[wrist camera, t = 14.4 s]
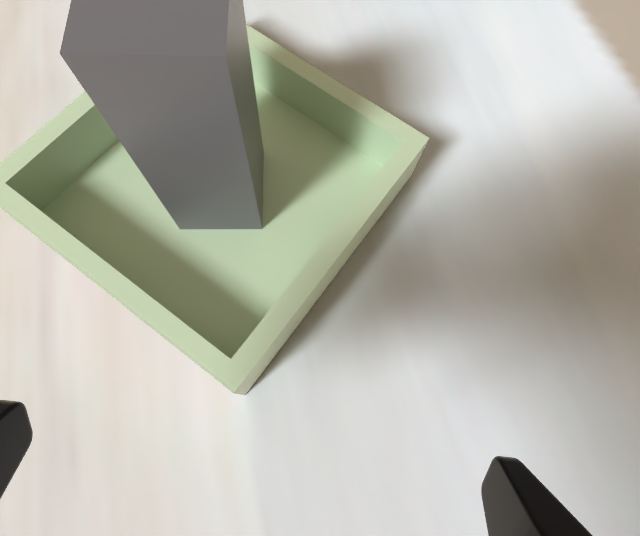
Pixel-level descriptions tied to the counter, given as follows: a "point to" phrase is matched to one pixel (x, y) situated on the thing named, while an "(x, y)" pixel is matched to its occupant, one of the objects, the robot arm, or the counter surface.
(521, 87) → the counter surface
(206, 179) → the grey square pillar
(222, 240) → the pale green tray
